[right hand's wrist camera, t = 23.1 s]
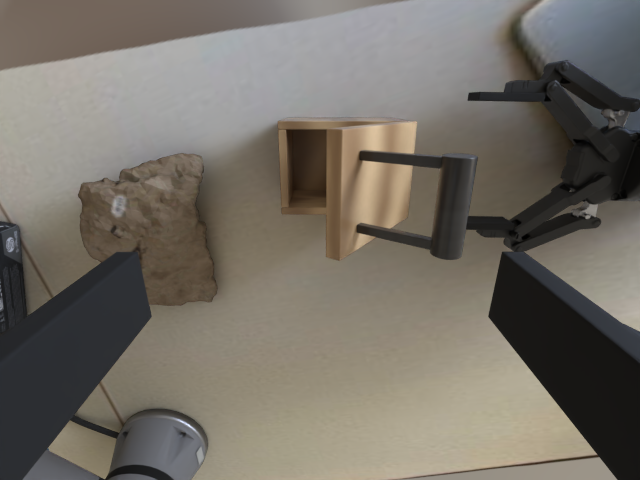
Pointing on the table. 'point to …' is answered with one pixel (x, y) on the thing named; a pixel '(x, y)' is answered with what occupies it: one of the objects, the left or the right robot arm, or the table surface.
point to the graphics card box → (11, 278)
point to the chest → (308, 160)
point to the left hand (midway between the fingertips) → (461, 163)
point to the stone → (153, 227)
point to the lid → (390, 190)
